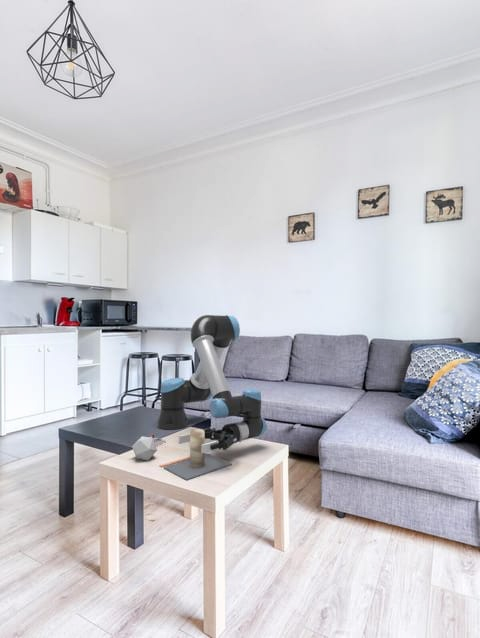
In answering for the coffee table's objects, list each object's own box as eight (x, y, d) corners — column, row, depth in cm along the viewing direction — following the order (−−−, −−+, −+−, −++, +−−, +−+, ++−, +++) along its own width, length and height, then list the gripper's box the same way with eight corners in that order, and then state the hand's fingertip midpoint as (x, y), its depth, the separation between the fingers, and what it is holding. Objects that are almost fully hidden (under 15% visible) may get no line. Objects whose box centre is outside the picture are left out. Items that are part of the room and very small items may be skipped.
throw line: (203, 453, 146) (203, 452, 146) (206, 454, 145) (206, 453, 145) (159, 466, 132) (159, 465, 132) (161, 467, 131) (161, 466, 131)
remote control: (157, 449, 152) (157, 442, 152) (134, 442, 161) (134, 435, 161) (170, 445, 157) (170, 438, 157) (147, 438, 166) (147, 431, 167)
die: (161, 458, 142) (155, 434, 146) (154, 454, 134) (148, 429, 139) (140, 466, 141) (135, 442, 146) (133, 463, 133) (127, 437, 138)
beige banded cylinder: (199, 461, 136) (198, 428, 136) (207, 465, 132) (207, 431, 132) (187, 464, 132) (187, 431, 132) (195, 469, 128) (195, 434, 129)
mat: (208, 454, 144) (208, 453, 144) (232, 464, 133) (232, 463, 133) (163, 468, 130) (163, 467, 130) (186, 480, 120) (186, 479, 120)
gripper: (257, 450, 135) (212, 464, 121) (214, 435, 154) (170, 446, 139) (257, 429, 136) (212, 441, 121) (214, 417, 154) (171, 426, 139)
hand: (190, 444), depth 130 cm, fingers open, 13 cm apart
